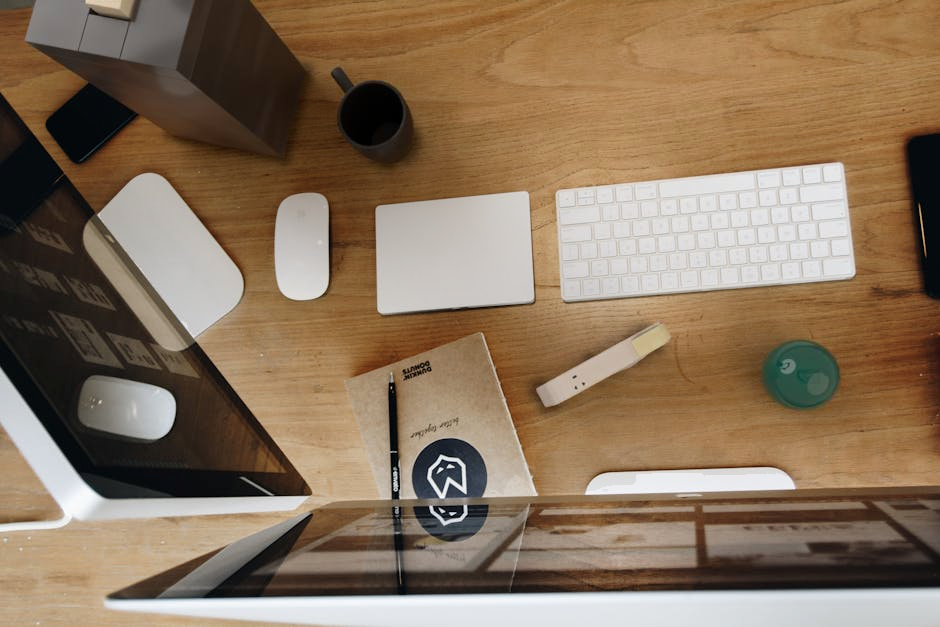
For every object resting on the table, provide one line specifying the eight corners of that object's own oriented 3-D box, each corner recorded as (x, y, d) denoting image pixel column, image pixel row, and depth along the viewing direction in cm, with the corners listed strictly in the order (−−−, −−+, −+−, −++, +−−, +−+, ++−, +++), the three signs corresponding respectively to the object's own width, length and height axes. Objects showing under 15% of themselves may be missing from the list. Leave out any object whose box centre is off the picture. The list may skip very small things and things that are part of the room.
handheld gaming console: (654, 349, 84) (546, 409, 83) (642, 329, 85) (535, 388, 84) (682, 338, 73) (558, 407, 72) (668, 315, 74) (545, 383, 73)
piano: (171, 135, 93) (23, 41, 67) (194, 49, 93) (57, -77, 68) (283, 158, 90) (175, 70, 65) (306, 70, 91) (208, -52, 65)
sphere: (740, 392, 81) (760, 394, 73) (767, 329, 81) (790, 324, 73) (808, 421, 80) (836, 426, 72) (835, 357, 80) (866, 355, 72)
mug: (381, 76, 90) (361, 40, 80) (435, 147, 88) (421, 119, 79) (330, 115, 90) (304, 84, 81) (383, 186, 88) (363, 163, 79)
